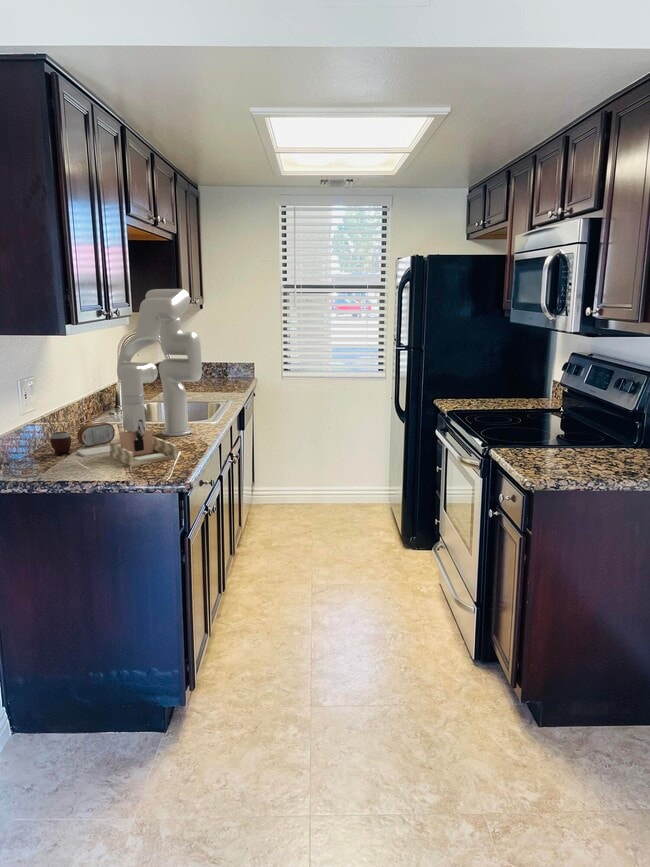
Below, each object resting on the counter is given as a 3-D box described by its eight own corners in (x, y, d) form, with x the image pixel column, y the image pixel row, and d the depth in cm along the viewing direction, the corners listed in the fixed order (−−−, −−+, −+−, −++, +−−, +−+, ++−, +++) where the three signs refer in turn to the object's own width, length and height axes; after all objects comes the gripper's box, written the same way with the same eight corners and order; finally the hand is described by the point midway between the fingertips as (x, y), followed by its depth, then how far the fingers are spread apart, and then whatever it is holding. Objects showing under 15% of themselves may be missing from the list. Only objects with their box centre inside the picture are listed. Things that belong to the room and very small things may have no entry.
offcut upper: (134, 461, 216) (134, 457, 216) (161, 456, 222) (161, 453, 222) (138, 463, 213) (138, 460, 213) (166, 458, 219) (165, 455, 219)
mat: (77, 453, 229) (76, 450, 229) (134, 444, 243) (134, 441, 243) (85, 457, 222) (85, 455, 222) (143, 448, 236) (143, 445, 236)
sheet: (121, 457, 223) (119, 432, 222) (150, 452, 230) (148, 428, 228) (124, 458, 222) (122, 433, 220) (153, 453, 228) (151, 429, 226)
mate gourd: (76, 452, 231) (72, 412, 228) (63, 457, 224) (59, 416, 220) (58, 451, 233) (54, 412, 229) (45, 456, 225) (40, 416, 222)
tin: (112, 440, 250) (110, 420, 248) (116, 441, 248) (115, 421, 246) (77, 447, 239) (75, 426, 237) (82, 448, 237) (79, 427, 235)
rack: (110, 456, 224) (109, 443, 223) (154, 449, 234) (153, 436, 233) (131, 467, 209) (130, 452, 208) (177, 458, 220) (176, 445, 219)
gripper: (114, 398, 225) (118, 447, 229) (132, 403, 213) (136, 455, 217) (134, 396, 230) (137, 444, 234) (152, 401, 218) (156, 451, 221)
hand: (137, 449), depth 225 cm, fingers open, 3 cm apart
